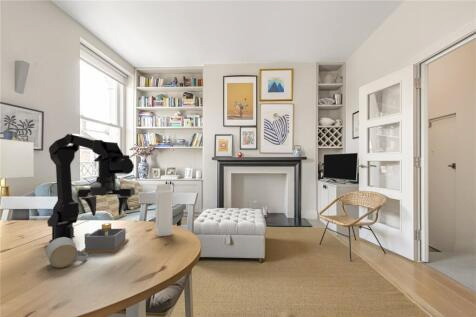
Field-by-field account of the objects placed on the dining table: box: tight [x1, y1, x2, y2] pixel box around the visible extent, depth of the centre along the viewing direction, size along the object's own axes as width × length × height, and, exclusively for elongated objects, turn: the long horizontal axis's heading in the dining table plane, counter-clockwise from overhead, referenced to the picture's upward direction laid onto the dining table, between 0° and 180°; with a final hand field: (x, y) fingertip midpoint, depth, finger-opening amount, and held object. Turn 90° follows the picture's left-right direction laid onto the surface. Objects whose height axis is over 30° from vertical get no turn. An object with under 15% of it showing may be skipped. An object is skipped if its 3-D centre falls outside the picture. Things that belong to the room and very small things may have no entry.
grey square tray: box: [80, 227, 130, 254], centre depth 92 cm, size 14×12×6 cm
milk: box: [155, 183, 173, 238], centre depth 109 cm, size 6×6×22 cm
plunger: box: [101, 222, 112, 236], centre depth 92 cm, size 8×8×7 cm
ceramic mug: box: [45, 237, 89, 269], centre depth 77 cm, size 11×8×8 cm
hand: (107, 215), depth 92 cm, fingers open, 9 cm apart
